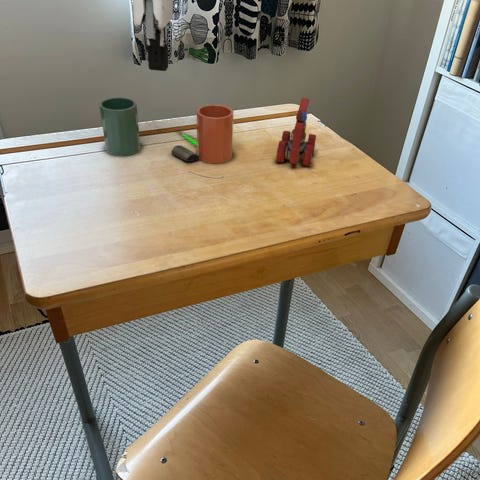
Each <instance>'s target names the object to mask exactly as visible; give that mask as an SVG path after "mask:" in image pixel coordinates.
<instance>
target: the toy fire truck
mask: <svg viewBox="0 0 480 480" xmlns="http://www.w3.org/2000/svg"><path fill="white" fill-rule="evenodd" d="M309 103H310V99H309V98H306V97H302V98H301V99H300V103H299V107H298V111H297V113H296V116H295V119H296V121H295V125H294V128H293V129H292V131H290V130H283V131H282V135H281V140H279V142H278V145H277V150H276V151H277V152H276V162H277V163H285V160H289V163H290V164H294V165H298V162H299V159H300V158H302V165H303V166H306V167H309V166H311V162H312V159H313V158H312V156H313V155H314V152H315V146H316V140H317V135H316V134H313V133H310V134H308V138H307V132H306V129H307V120H308V109H309ZM306 138H307V141H305V140H306Z"/></svg>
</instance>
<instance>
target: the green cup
mask: <svg viewBox="0 0 480 480" xmlns="http://www.w3.org/2000/svg"><path fill="white" fill-rule="evenodd" d="M98 105H99V114H100V119H101V120H100V121H101V128H102V134H103V142H104V149H105V151H106V153H108V154H110V155H113V156H118V157H126V156H131V155H134V154H137V153H139V151H140V150H141V138H140V137H141V136H140V127H139V126H140V125H139V115H138V105H137V102H136V100H133V99H132V98H128V97H120V96H119V97H109V98H105V99H103V100H101V101H100V102H99V103H98Z"/></svg>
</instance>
